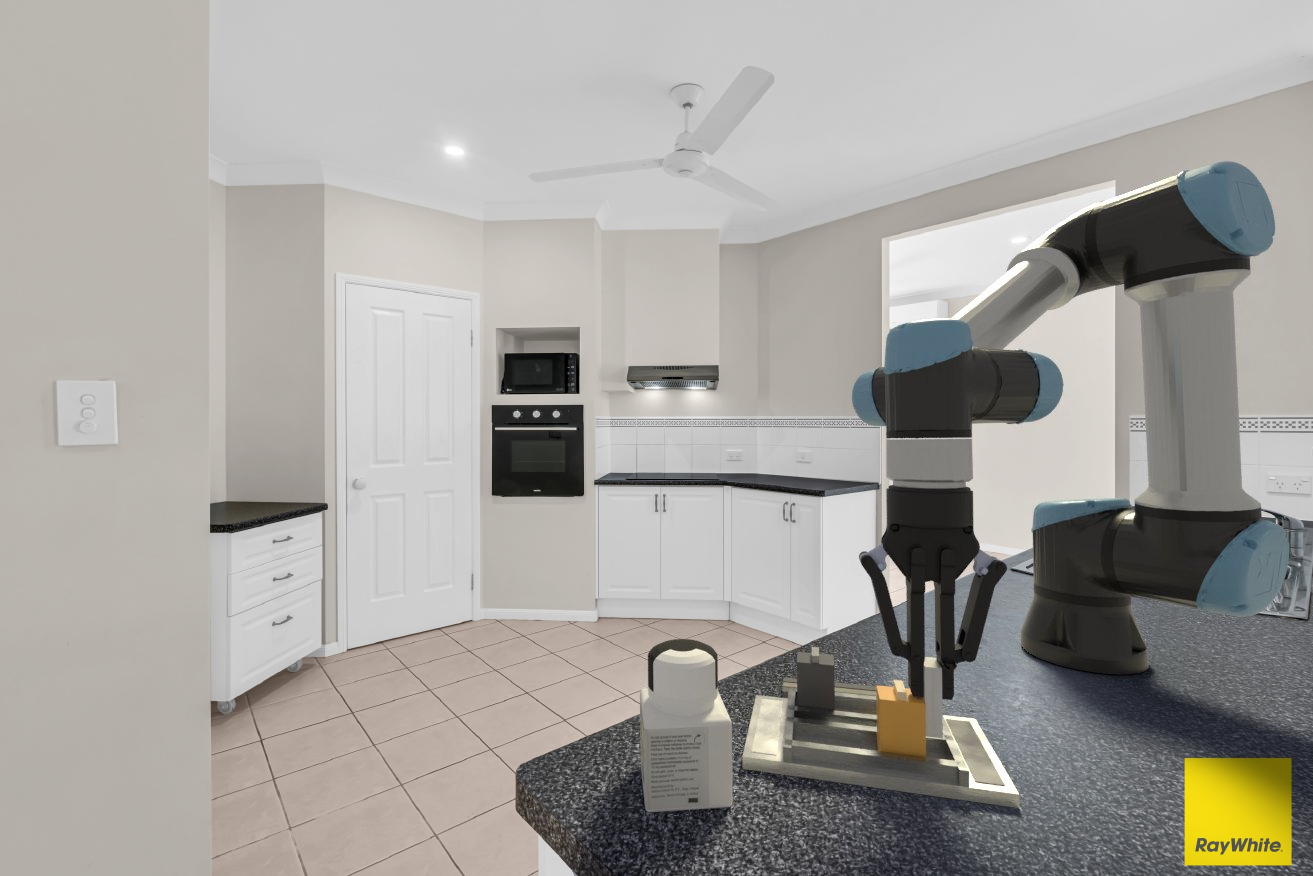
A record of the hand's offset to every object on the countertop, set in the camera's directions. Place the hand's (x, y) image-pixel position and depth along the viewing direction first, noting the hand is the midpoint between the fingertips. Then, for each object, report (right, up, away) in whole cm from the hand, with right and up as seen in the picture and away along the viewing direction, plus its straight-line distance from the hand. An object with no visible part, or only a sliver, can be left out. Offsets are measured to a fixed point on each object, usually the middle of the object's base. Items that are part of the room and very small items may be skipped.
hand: (931, 730), depth 55 cm
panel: (-4, -4, +5) cm, 8 cm away
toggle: (-8, -3, +10) cm, 13 cm away
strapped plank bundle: (-2, -4, +16) cm, 16 cm away
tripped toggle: (-3, -3, +1) cm, 4 cm away
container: (-24, -5, -1) cm, 24 cm away
